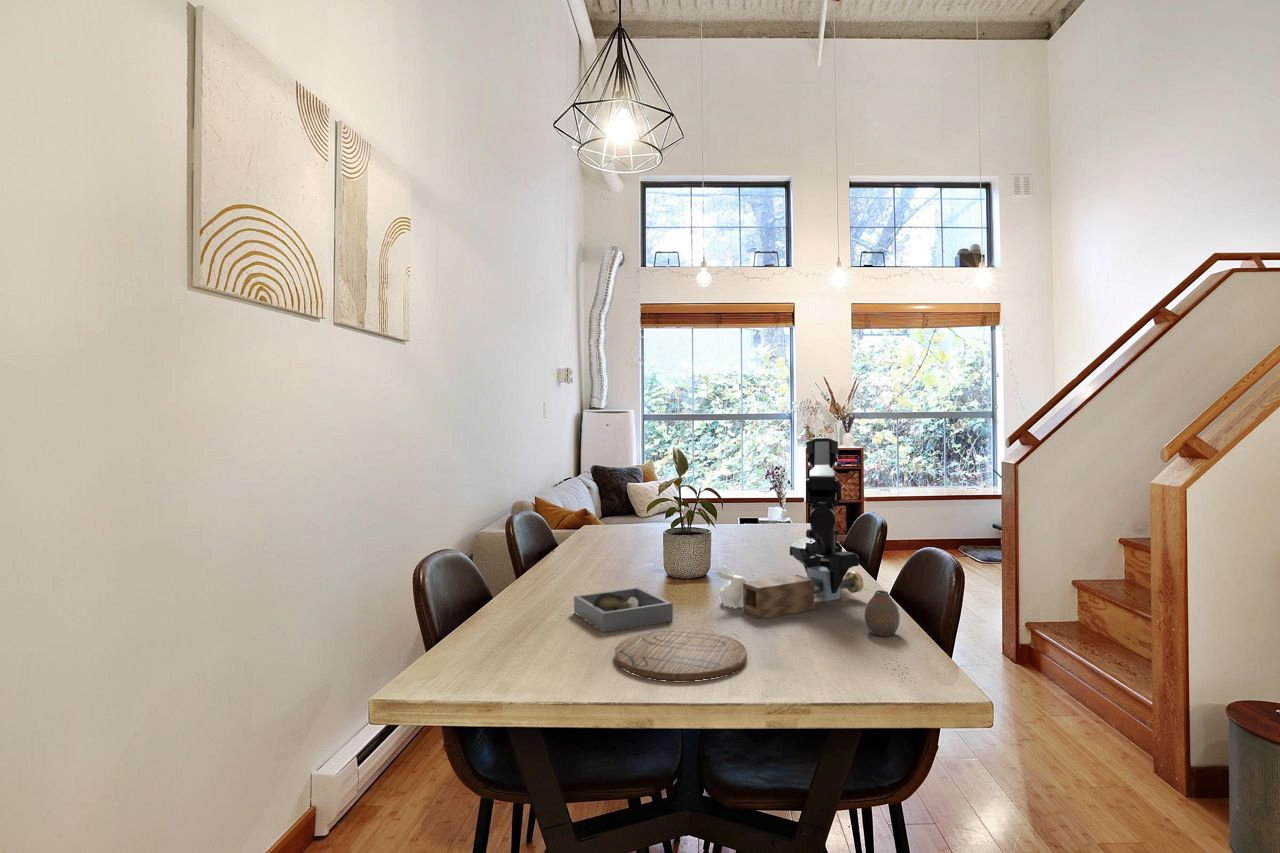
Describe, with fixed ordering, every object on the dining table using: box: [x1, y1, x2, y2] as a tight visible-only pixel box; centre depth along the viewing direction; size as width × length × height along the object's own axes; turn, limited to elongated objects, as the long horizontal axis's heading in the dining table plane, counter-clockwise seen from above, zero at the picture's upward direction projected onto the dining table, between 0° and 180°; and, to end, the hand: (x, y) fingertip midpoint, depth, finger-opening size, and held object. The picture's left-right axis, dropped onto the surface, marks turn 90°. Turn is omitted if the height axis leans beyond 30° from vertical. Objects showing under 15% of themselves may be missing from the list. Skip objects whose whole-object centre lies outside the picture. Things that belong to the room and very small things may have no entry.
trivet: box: [614, 629, 748, 681], centre depth 132 cm, size 25×25×2 cm
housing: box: [742, 574, 815, 620], centre depth 163 cm, size 16×6×7 cm, turn 117°
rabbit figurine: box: [716, 565, 748, 609], centre depth 168 cm, size 12×8×10 cm, turn 7°
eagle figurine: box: [593, 593, 639, 611], centre depth 157 cm, size 8×7×9 cm
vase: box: [864, 589, 901, 637], centre depth 145 cm, size 7×7×9 cm
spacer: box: [806, 566, 841, 601], centre depth 169 cm, size 4×7×6 cm, turn 27°
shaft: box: [814, 571, 864, 595], centre depth 169 cm, size 20×5×5 cm, turn 117°
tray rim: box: [573, 587, 674, 633], centre depth 160 cm, size 17×17×4 cm
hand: (823, 589), depth 169 cm, fingers closed on spacer, 7 cm apart
